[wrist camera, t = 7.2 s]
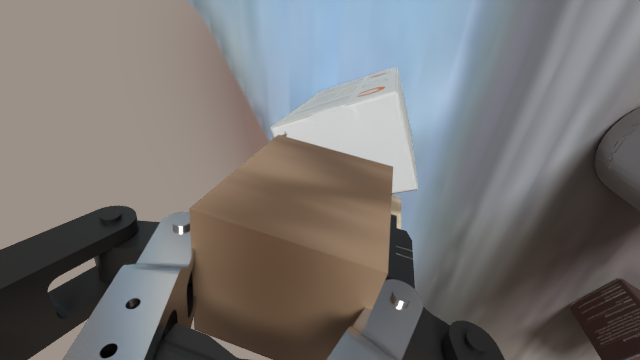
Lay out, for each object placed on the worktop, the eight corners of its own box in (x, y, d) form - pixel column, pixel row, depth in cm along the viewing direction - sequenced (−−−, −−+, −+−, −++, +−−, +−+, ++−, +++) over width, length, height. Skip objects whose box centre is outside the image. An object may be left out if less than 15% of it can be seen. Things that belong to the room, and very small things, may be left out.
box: (664, 306, 30) (734, 379, 24) (607, 332, 33) (656, 402, 27) (619, 275, 30) (677, 340, 24) (566, 304, 33) (604, 368, 27)
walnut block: (393, 166, 12) (388, 273, 6) (361, 255, 14) (338, 384, 9) (278, 134, 12) (189, 208, 7) (267, 224, 15) (194, 329, 10)
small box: (336, 148, 31) (300, 211, 20) (318, 90, 29) (266, 126, 18) (412, 129, 29) (420, 191, 17) (398, 64, 26) (397, 87, 15)
